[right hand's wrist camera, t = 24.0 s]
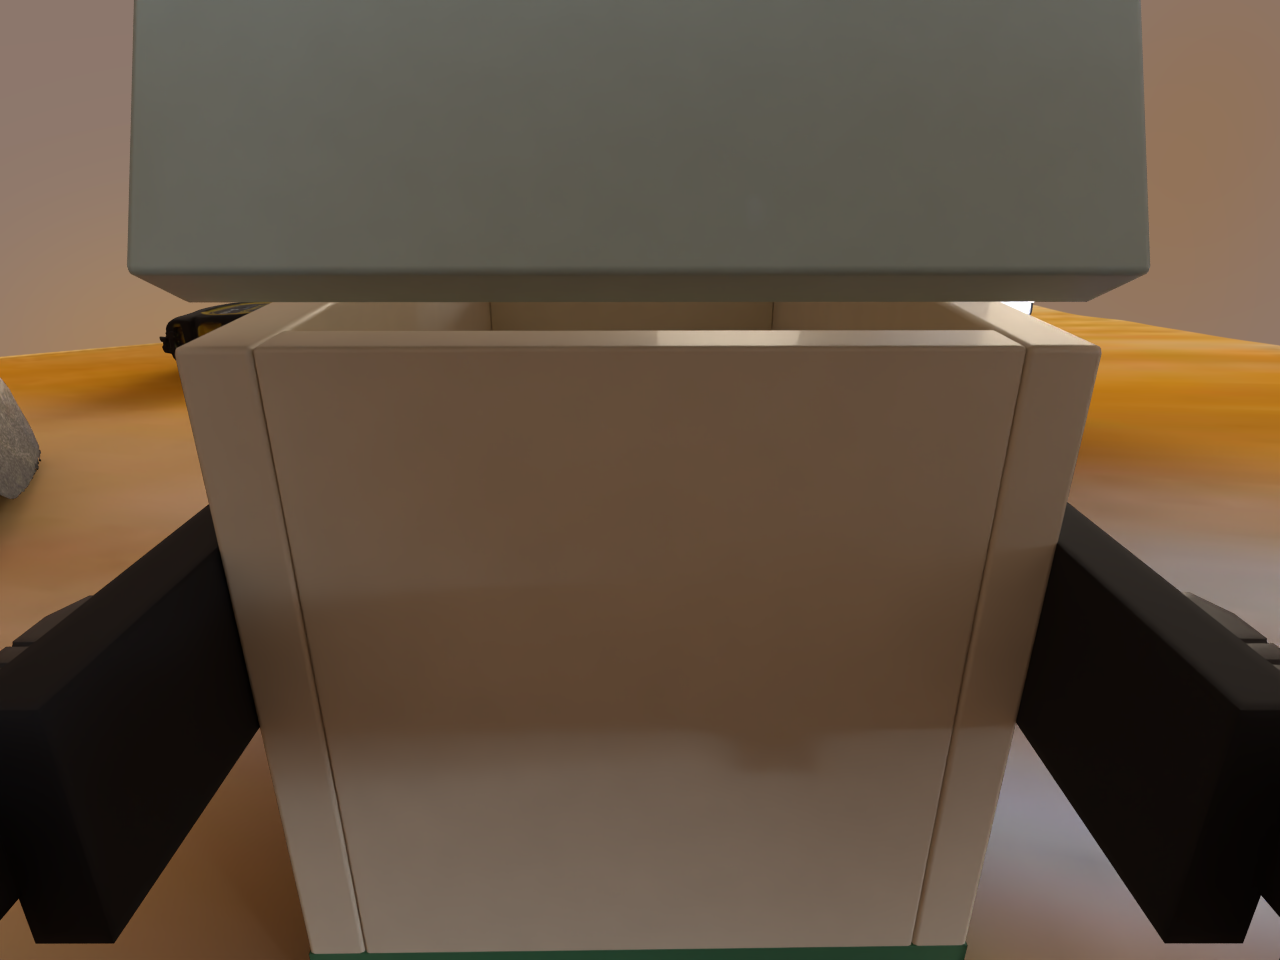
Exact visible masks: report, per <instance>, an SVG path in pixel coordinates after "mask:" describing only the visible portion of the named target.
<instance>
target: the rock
mask: <svg viewBox="0 0 1280 960" xmlns="http://www.w3.org/2000/svg"><path fill="white" fill-rule="evenodd" d="M40 454H41V452H40V450H39V445H38V442H37V441H36V438H35V436H34V433H33V431H32V429H31V427H30V425H29V423H28V421H27V420H26V418H25V416H24V415H23V413H22V411H21V410H20V408H19V406H18V404H17V403H16V401H15V399H14V397H13V395H12V393H11V391H10V389H9V388H8V387H7V385H6V384H5V383H4V381H3V380H2V379H1V378H0V495H2V496H4V497H6V498H9V499H12V498H17V497H18V495H20V494H21V492H24V491H25V490H24V489H26V488H27V487H28V485H29V483H30V481H31V479H33V475H34V474H35V472H36V470H35V468H36V469H37V470H38V468H39V466H38V464H39V462H38V458H39V461H41V460H40Z"/></svg>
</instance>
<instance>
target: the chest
mask: <svg viewBox="0 0 1280 960" xmlns="http://www.w3.org/2000/svg"><path fill="white" fill-rule="evenodd" d="M175 357H176V362H177V366H178V370H179V375H180V379H181V383H182V388H183V392H184V397H185V401H186V405H187V410H188V414H189V418H190V423H191V427H192V432H193V436H194V440H195V445H196V449H197V453H198V458H199V462H200V467H201V471H202V475H203V480H204V484H205V488H206V493H207V497H208V502H209V506H210V510H211V515H212V519H213V523H214V528H215V532H216V537H217V541H218V545H219V550H220V554H221V559H222V563H223V567H224V572H225V576H226V580H227V585H228V589H229V594H230V598H231V602H232V607H233V611H234V615H235V620H236V624H237V629H238V633H239V637H240V642H241V646H242V650H243V655H244V659H245V664H246V668H247V672H248V677H249V681H250V685H251V690H252V694H253V699H254V703H255V707H256V712H257V716H258V720H259V725H260V729H261V734H262V738H263V742H264V747H265V751H266V755H267V760H268V764H269V769H270V773H271V777H272V782H273V786H274V790H275V795H276V799H277V804H278V808H279V812H280V817H281V821H282V825H283V830H284V834H285V839H286V843H287V847H288V852H289V856H290V860H291V865H292V869H293V874H294V878H295V882H296V887H297V891H298V895H299V900H300V904H301V909H302V913H303V917H304V922H305V926H306V930H307V935H308V939H309V944H310V948H311V950H310V953H309V957H310V960H964V958H965V954H966V950H967V943H966V941H965V940H966V936H967V932H968V927H969V923H970V919H971V914H972V910H973V906H974V902H975V897H976V893H977V889H978V884H979V880H980V876H981V871H982V867H983V863H984V858H985V854H986V850H987V845H988V841H989V837H990V832H991V828H992V824H993V819H994V815H995V811H996V807H997V802H998V798H999V794H1000V789H1001V785H1002V781H1003V776H1004V772H1005V768H1006V763H1007V759H1008V755H1009V750H1010V746H1011V742H1012V737H1013V733H1014V729H1015V724H1016V719H1017V715H1018V710H1019V706H1020V702H1021V697H1022V693H1023V689H1024V684H1025V680H1026V675H1027V671H1028V667H1029V662H1030V658H1031V654H1032V649H1033V645H1034V640H1035V636H1036V632H1037V627H1038V623H1039V619H1040V614H1041V610H1042V606H1043V601H1044V597H1045V592H1046V588H1047V584H1048V579H1049V575H1050V571H1051V566H1052V562H1053V558H1054V553H1055V549H1056V544H1057V543H1058V539H1059V534H1060V530H1061V526H1062V521H1063V517H1064V513H1065V509H1066V504H1067V500H1068V496H1069V491H1070V487H1071V483H1072V478H1073V474H1074V470H1075V465H1076V461H1077V457H1078V452H1079V448H1080V444H1081V439H1082V435H1083V431H1084V426H1085V422H1086V418H1087V413H1088V409H1089V405H1090V401H1091V396H1092V392H1093V388H1094V383H1095V379H1096V375H1097V370H1098V366H1099V362H1100V357H1101V348H1100V347H1099V346H1097V345H1095V344H1093V343H1090V342H1088V341H1086V340H1084V339H1081V338H1079V337H1077V336H1075V335H1073V334H1070V333H1068V332H1066V331H1064V330H1061V329H1059V328H1057V327H1055V326H1053V325H1050V324H1048V323H1046V322H1044V321H1041V320H1039V319H1037V318H1035V317H1033V316H1030V315H1028V314H1026V313H1024V312H1021V311H1019V310H1017V309H1015V308H1013V307H1010V306H1008V305H1006V304H1004V303H1001V302H272V303H270V304H268V305H266V306H264V307H261V308H259V309H257V310H255V311H253V312H251V313H249V314H247V315H245V316H243V317H241V318H238V319H236V320H234V321H232V322H230V323H228V324H226V325H224V326H222V327H220V328H218V329H215V330H213V331H211V332H209V333H207V334H205V335H203V336H201V337H199V338H197V339H195V340H193V341H190V342H188V343H186V344H184V345H182V346H180V347H178V348H176V350H175Z"/></svg>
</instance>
